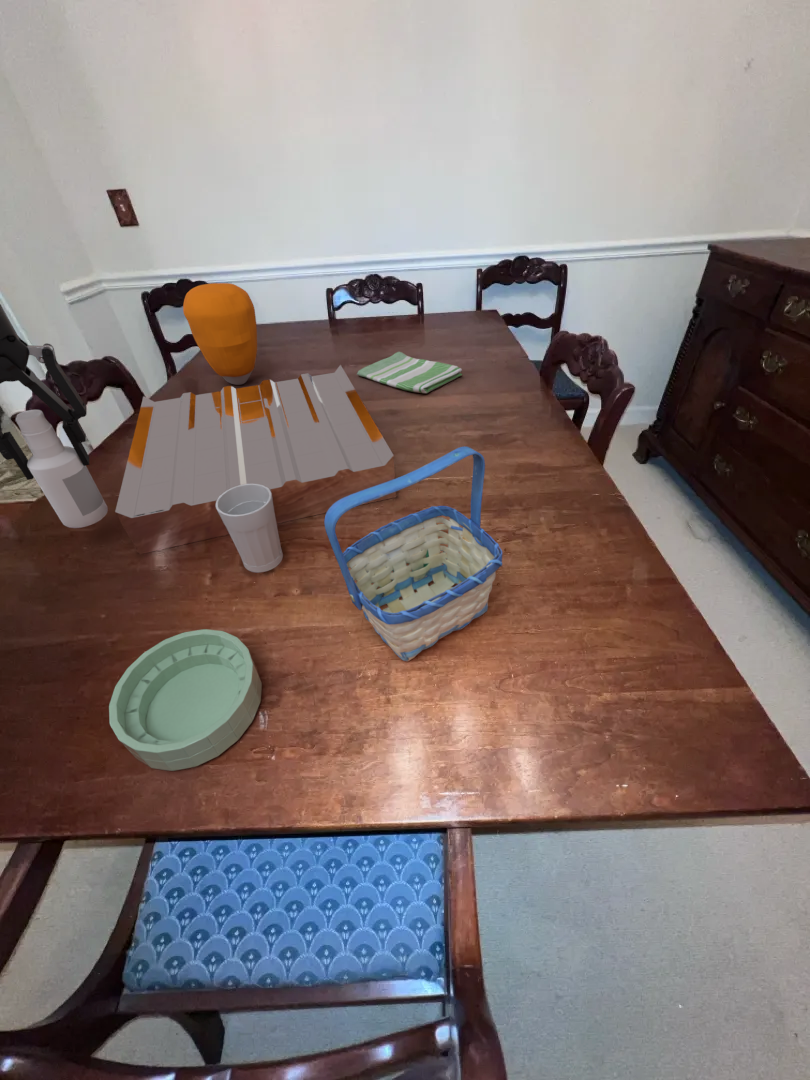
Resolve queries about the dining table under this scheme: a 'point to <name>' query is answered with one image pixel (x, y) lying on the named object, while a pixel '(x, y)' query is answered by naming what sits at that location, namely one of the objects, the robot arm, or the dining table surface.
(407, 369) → the dish towel
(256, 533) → the cup
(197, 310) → the orange egg-shaped ornament
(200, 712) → the bowl
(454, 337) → the dining table surface
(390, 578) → the basket
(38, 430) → the white bottle
